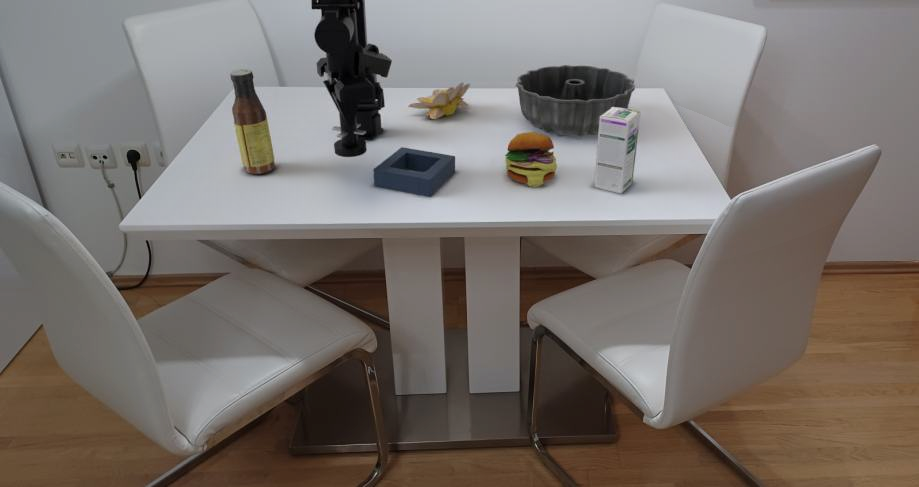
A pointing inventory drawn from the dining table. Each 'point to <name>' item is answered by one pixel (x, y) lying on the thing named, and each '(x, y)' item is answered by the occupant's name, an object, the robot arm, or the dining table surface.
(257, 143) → the sauce bottle
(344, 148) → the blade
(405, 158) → the blue square frame
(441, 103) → the decorative flower
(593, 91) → the bundt pan
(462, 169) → the dining table surface
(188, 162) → the dining table surface
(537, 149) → the cheeseburger
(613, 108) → the syrup box
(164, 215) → the dining table surface
